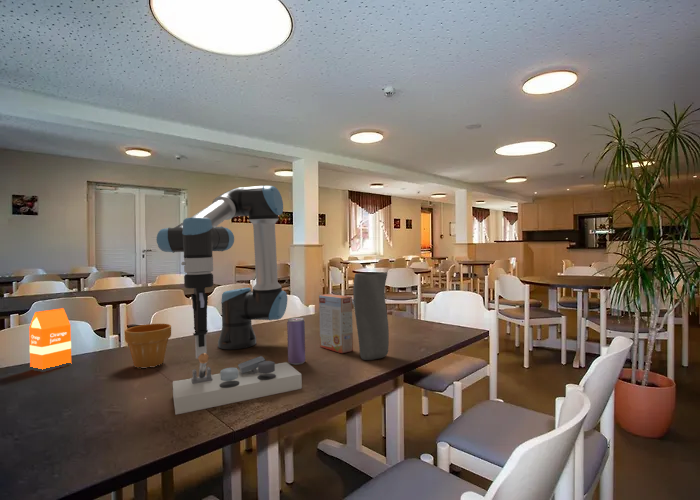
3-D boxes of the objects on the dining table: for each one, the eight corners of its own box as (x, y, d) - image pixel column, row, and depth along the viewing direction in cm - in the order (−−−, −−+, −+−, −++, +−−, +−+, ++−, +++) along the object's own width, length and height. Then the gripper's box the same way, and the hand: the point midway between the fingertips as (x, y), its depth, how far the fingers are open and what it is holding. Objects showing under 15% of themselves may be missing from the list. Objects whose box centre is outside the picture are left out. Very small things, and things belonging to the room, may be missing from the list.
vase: (364, 364, 123) (362, 274, 123) (349, 355, 134) (347, 273, 134) (396, 359, 128) (394, 273, 128) (379, 351, 139) (377, 271, 139)
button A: (256, 369, 103) (256, 362, 103) (272, 367, 105) (272, 360, 105) (260, 374, 99) (260, 367, 99) (276, 371, 101) (276, 364, 101)
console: (173, 396, 100) (172, 370, 100) (287, 374, 115) (286, 352, 115) (175, 414, 88) (174, 385, 88) (301, 388, 103) (301, 363, 103)
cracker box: (354, 351, 140) (352, 296, 140) (341, 354, 136) (340, 297, 136) (331, 344, 151) (330, 293, 151) (319, 347, 147) (318, 294, 147)
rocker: (238, 369, 107) (237, 364, 107) (262, 360, 110) (261, 355, 110) (242, 373, 103) (241, 368, 103) (266, 364, 106) (265, 359, 106)
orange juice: (71, 365, 130) (70, 308, 130) (42, 373, 122) (40, 312, 122) (59, 362, 133) (57, 307, 133) (29, 370, 125) (28, 311, 125)
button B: (219, 376, 98) (219, 369, 98) (236, 373, 100) (236, 366, 100) (221, 382, 94) (221, 374, 94) (239, 378, 96) (239, 371, 96)
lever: (196, 373, 100) (198, 351, 94) (206, 371, 101) (208, 350, 96) (197, 382, 99) (199, 360, 93) (207, 380, 100) (210, 358, 94)
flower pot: (178, 363, 129) (177, 326, 129) (133, 374, 118) (132, 334, 118) (163, 356, 138) (162, 321, 138) (119, 365, 128) (119, 328, 128)
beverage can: (302, 365, 124) (301, 320, 124) (285, 364, 125) (284, 320, 125) (307, 360, 130) (306, 317, 130) (291, 359, 131) (290, 317, 131)
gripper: (182, 272, 107) (184, 353, 107) (186, 275, 95) (188, 366, 96) (209, 271, 110) (211, 349, 111) (216, 273, 99) (219, 361, 99)
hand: (201, 357), depth 103 cm, fingers closed
